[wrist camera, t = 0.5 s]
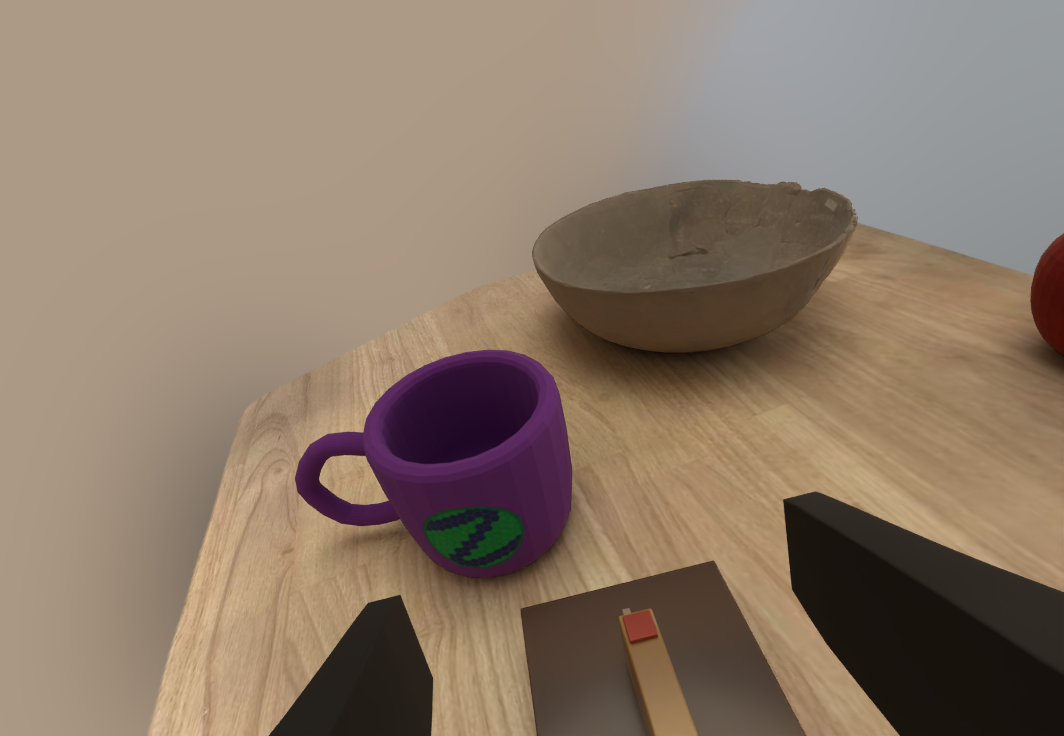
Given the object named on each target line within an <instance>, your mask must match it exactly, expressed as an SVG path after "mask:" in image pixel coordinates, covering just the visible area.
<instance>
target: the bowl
mask: <svg viewBox="0 0 1064 736" xmlns="http://www.w3.org/2000/svg"><path fill="white" fill-rule="evenodd" d="M857 220H858V217H857V216H856V211H855V209H853V208H852V203H851V201H850V200H849V199H847V198H845V197H844V196H843V195H841V194H838V193H836V192H834V191H831V190H829V189H826V188H822V189H816V190H814V191H812V192H810V191H808V190H802V188H801V186H800V185H799V184H798V183H796V182H788V183H786V182H780V183H778V184H768V185H765V184H759V183H751V182H749V181H748V182H742V181H739V180H702V181H691V182H683V183H676V184H669V185H664V186H660V187H655V188H650V189H644V190H638V191H632V192H627V193H623V194H620V195H618V196H614V197H610V198H606V199H604V200H601V201H599V202H596V203H592V204H589V205H587V206H585V207H583V208H581V209H579V210H577V211H575V212H573V213H570V214H569V215H567V216H565V217H563V218H561V219H559V220H558V221H556V222H555V223H553V224H552V225H550V226H548V227H547V228H546V229H545V230H544V231H543V232H542V233H541V234H540V236H539V237H538V239H537V241H536V242H535V244H534V247H533V251H532V257H533V260H534V264H535V267H536V270H537V273H538V274H539V276H540V278H541V279H542V281H543V283H544V284H545V286H546V287H547V289H548V290H549V292H550V293H551V295H552V296H553V298H554V299H555V301H556V302H557V303H558V304H559V305H560V306H561V307H562V309H563V310H564V311H565V312H566V313H567V314H568V315H569V316H571V317H572V318H573V319H574V320H575V321H576V322H578V323H579V324H580V325H581V326H583V327H584V328H585V329H587V330H588V331H590V332H592V333H593V334H595V335H597V336H599V337H601V338H603V339H605V340H607V341H610V342H613V343H617V344H620V345H623V346H626V347H630V348H636V349H642V350H648V351H657V352H670V353H672V352H697V351H706V350H712V349H718V348H723V347H728V346H732V345H735V344H739V343H742V342H746V341H749V340H752V339H754V338H757V337H759V336H762V335H764V334H766V333H769V332H771V331H772V330H774V329H776V328H777V327H779V326H781V325H782V324H784V323H786V322H787V321H788V320H790V319H791V318H792V317H793V316H794V315H796V314H797V313H798V312H799V311H800V310H801V309H802V308H803V307H804V306H805V305H806V304H807V303H808V302H809V300H810V299H811V297H812V296H813V295H814V294H815V293H816V291H817V290H818V289H819V287H820V285H821V284H822V282H823V281H824V280H825V279H826V278H827V277H828V275H829V274H830V273H831V271H832V270H833V268H834V267H835V266H836V264H837V263H838V261H839V260H840V258H841V256H842V255H843V253H844V251H845V250H846V248H847V246H848V244H849V241H850V239H851V237H852V235H853V232H854V230H855V228H856V225H857Z"/></svg>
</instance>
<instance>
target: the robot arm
mask: <svg viewBox="0 0 1064 736" xmlns="http://www.w3.org/2000/svg"><path fill="white" fill-rule="evenodd" d="M783 502H784V513H785V523H786V533H787V543H788V553H789V564H790V574H791V584H792V590H793V592H794V593H795V595H796V597H797V598H798V600H799V601H800V603H801V605H802V606H803V608H804V609H805V611H806V613H807V614H808V616H809V618H810V619H811V621H812V622H813V624H814V625H815V627H816V628H817V630H818V631H819V633H820V634H821V636H822V637H823V639H824V641H825V642H826V644H827V645H828V646H829V647H830V649H831V650H832V651H833V653H834V654H835V655H836V656H837V658H838V659H839V660H840V661H841V663H842V664H843V665H844V667H845V668H846V669H847V670H848V672H849V673H850V674H851V675H852V677H853V678H854V679H855V680H856V682H857V683H858V684H859V685H860V687H861V688H862V689H863V690H864V692H865V693H866V694H867V695H868V697H869V698H870V699H871V700H872V702H873V703H874V704H875V705H876V707H877V708H878V709H879V710H880V712H881V713H882V714H883V715H884V716H885V718H886V719H887V720H888V721H889V723H890V724H891V725H892V726H893V728H894V729H895V730H896V731H897V733H898V734H899V735H900V736H1064V592H1062V591H1059V590H1056V589H1054V588H1051V587H1048V586H1046V585H1043V584H1040V583H1038V582H1035V581H1032V580H1030V579H1027V578H1024V577H1022V576H1019V575H1016V574H1014V573H1011V572H1008V571H1006V570H1003V569H1000V568H998V567H995V566H993V565H990V564H988V563H985V562H983V561H980V560H978V559H975V558H973V557H970V556H968V555H965V554H963V553H960V552H958V551H955V550H953V549H950V548H948V547H946V546H943V545H941V544H938V543H936V542H934V541H931V540H929V539H927V538H924V537H922V536H919V535H917V534H915V533H912V532H910V531H908V530H905V529H903V528H901V527H899V526H896V525H894V524H892V523H889V522H887V521H885V520H882V519H880V518H878V517H876V516H873V515H871V514H869V513H866V512H864V511H862V510H860V509H857V508H855V507H853V506H850V505H848V504H846V503H843V502H841V501H839V500H836V499H834V498H831V497H829V496H826V495H824V494H821V493H819V492H812V493H808V494H804V495H800V496H796V497H792V498H788V499H784V500H783ZM432 700H433V677H432V674H431V672H430V669H429V667H428V664H427V662H426V659H425V657H424V654H423V651H422V649H421V646H420V644H419V641H418V639H417V636H416V634H415V631H414V629H413V626H412V623H411V621H410V618H409V616H408V613H407V611H406V608H405V606H404V603H403V601H402V598H401V596H400V595H398V596H394V597H390V598H386V599H382V600H378V601H374V602H370V603H368V604H367V605H366V606H365V608H364V609H363V610H362V611H361V613H360V614H359V615H358V617H357V618H356V619H355V621H354V622H353V624H352V625H351V626H350V628H349V629H348V630H347V632H346V633H345V635H344V636H343V637H342V639H341V640H340V641H339V643H338V644H337V646H336V647H335V648H334V650H333V651H332V652H331V654H330V655H329V657H328V658H327V659H326V661H325V662H324V664H323V665H322V666H321V668H320V669H319V670H318V672H317V673H316V674H315V676H314V677H313V678H312V680H311V681H310V682H309V684H308V685H307V686H306V688H305V689H304V690H303V692H302V693H301V695H300V696H299V697H298V699H297V700H296V701H295V703H294V704H293V705H292V707H291V708H290V709H289V711H288V712H287V713H286V715H285V716H284V717H283V718H282V720H281V721H280V722H279V723H278V725H277V726H276V727H275V728H274V730H273V731H272V732H271V734H270V735H269V736H431V726H432Z"/></svg>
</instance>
